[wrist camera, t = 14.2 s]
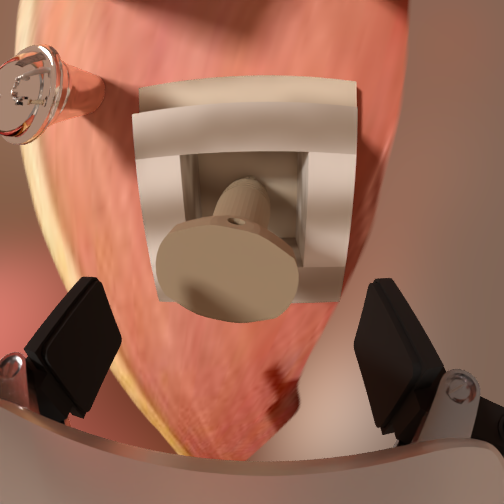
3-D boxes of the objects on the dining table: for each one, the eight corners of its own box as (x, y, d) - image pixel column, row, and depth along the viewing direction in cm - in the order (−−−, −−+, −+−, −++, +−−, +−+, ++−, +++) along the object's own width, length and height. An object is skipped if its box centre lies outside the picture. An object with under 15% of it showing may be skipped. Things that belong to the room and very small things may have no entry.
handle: (276, 222, 27) (282, 331, 14) (210, 209, 27) (155, 305, 13) (288, 174, 25) (311, 245, 11) (218, 160, 24) (158, 213, 11)
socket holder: (143, 89, 22) (107, 82, 16) (352, 83, 22) (382, 72, 15) (166, 285, 32) (146, 325, 26) (338, 285, 31) (354, 325, 25)
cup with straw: (118, 129, 24) (-52, 175, 6) (55, 135, 24) (-90, 184, 6) (126, 52, 20) (-32, 11, 2) (60, 66, 20) (-85, 67, 2)
